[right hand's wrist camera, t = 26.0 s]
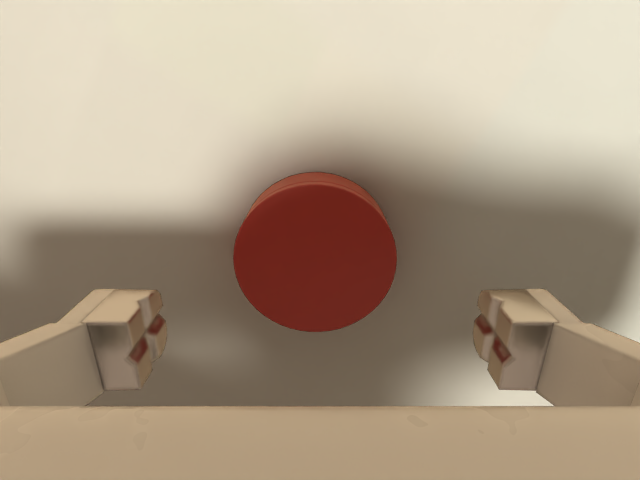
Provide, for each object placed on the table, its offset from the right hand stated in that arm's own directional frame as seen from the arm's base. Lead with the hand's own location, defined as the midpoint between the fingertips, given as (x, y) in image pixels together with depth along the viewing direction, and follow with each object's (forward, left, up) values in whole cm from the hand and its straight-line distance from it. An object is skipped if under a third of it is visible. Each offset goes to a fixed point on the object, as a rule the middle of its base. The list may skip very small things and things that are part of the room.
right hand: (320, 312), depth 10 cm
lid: (+1, 0, -2) cm, 2 cm away
